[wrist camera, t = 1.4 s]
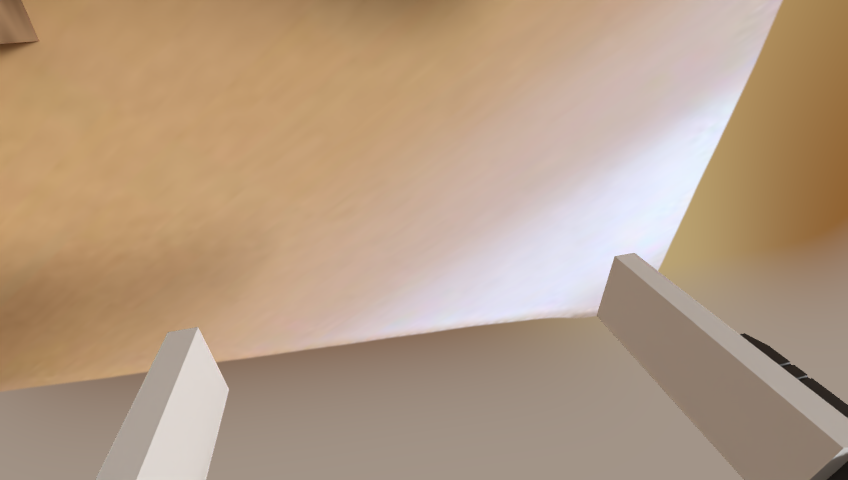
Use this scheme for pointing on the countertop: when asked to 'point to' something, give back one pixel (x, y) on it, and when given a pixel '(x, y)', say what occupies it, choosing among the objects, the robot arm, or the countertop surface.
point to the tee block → (15, 23)
